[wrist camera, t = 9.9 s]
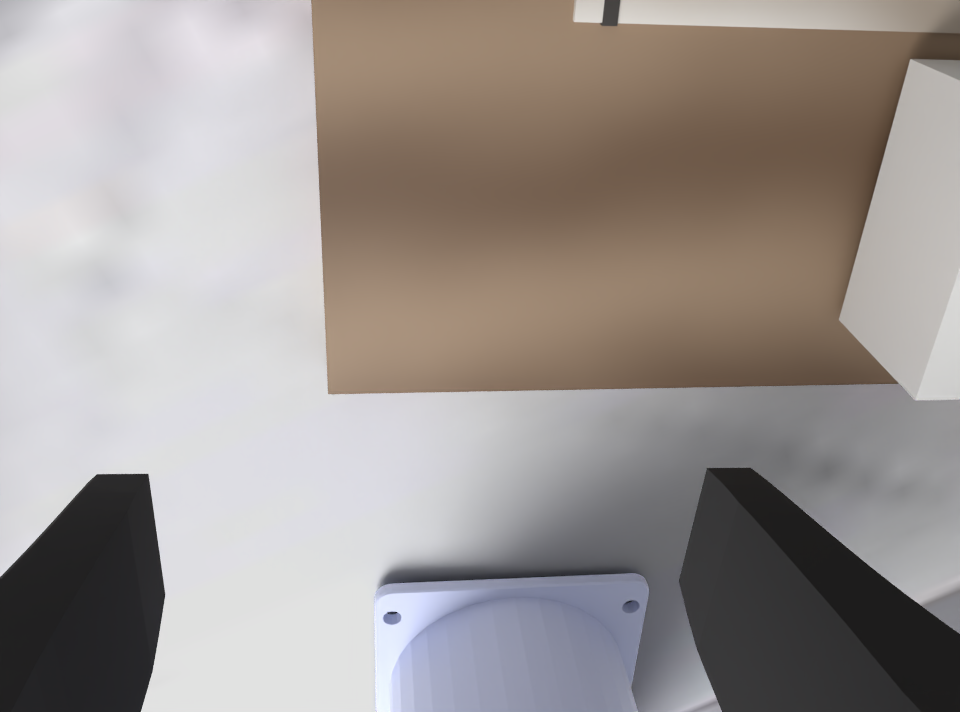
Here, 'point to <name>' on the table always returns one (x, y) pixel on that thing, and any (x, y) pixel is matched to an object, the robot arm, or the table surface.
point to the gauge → (914, 241)
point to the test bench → (603, 187)
